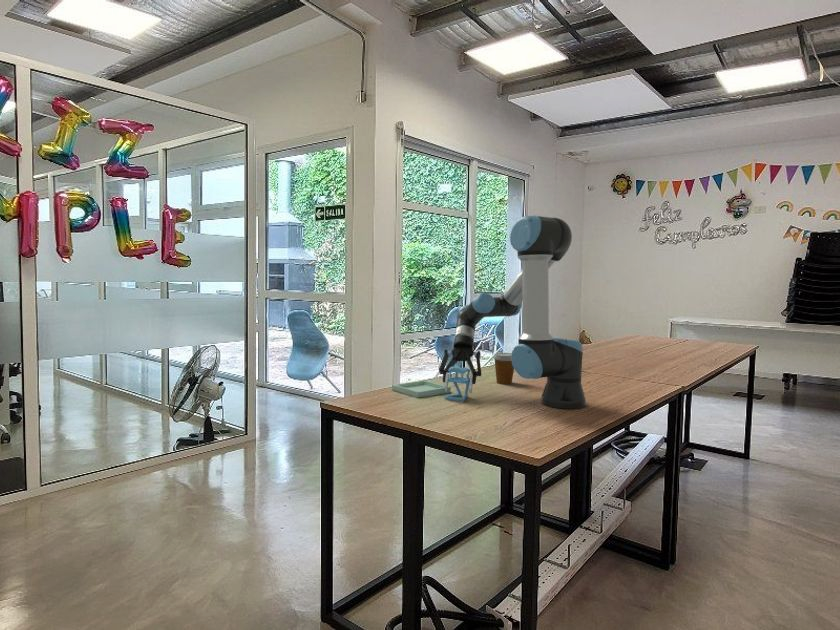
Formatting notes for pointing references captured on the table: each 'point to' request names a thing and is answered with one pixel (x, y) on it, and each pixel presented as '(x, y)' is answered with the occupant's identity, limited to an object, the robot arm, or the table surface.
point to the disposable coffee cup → (503, 368)
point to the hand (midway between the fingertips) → (457, 390)
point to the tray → (420, 388)
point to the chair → (458, 380)
